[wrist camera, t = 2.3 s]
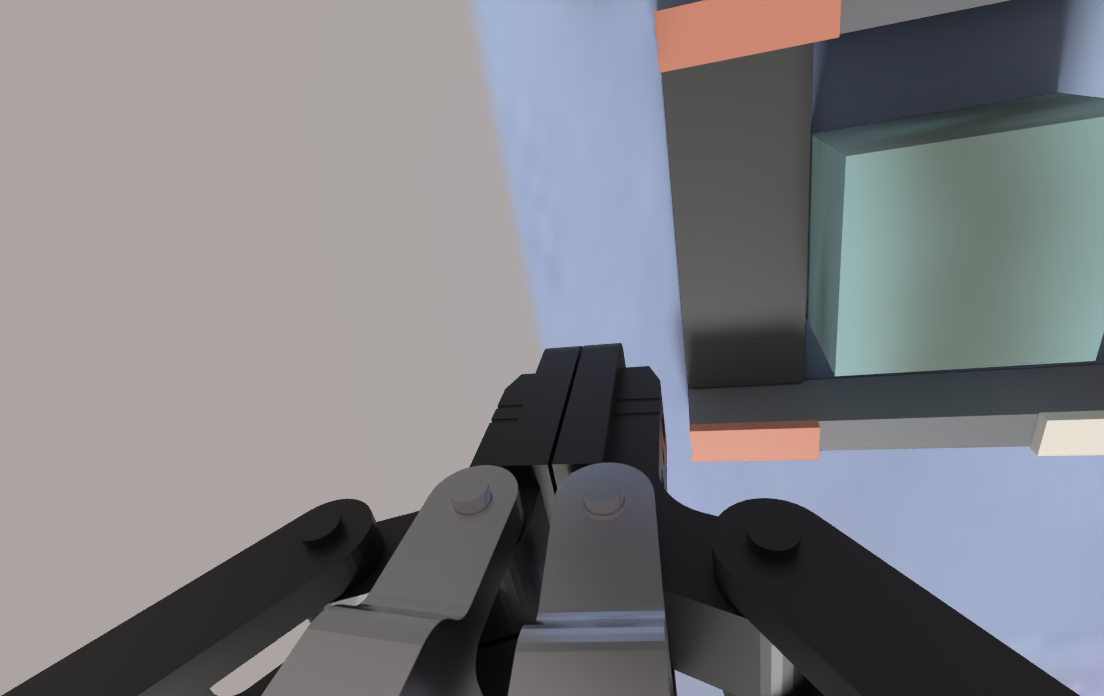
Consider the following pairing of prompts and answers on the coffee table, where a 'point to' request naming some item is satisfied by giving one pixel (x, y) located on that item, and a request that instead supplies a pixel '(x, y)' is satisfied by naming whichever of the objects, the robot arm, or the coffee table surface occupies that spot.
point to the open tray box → (805, 259)
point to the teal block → (959, 238)
